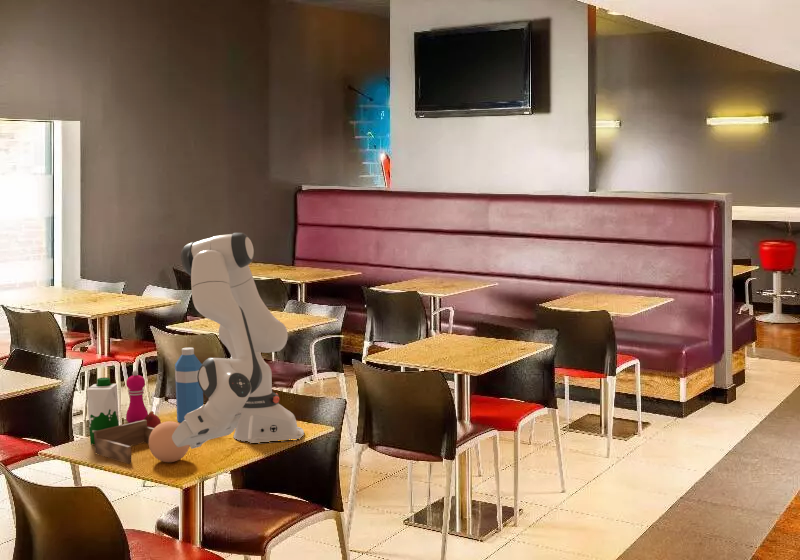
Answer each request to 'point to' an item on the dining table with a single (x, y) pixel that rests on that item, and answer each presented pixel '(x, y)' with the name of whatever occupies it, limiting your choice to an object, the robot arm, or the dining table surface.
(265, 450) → the dining table surface
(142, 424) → the corral
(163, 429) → the rubber ball
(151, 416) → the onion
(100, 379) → the milk carton
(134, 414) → the pepper mill
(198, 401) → the water bottle
